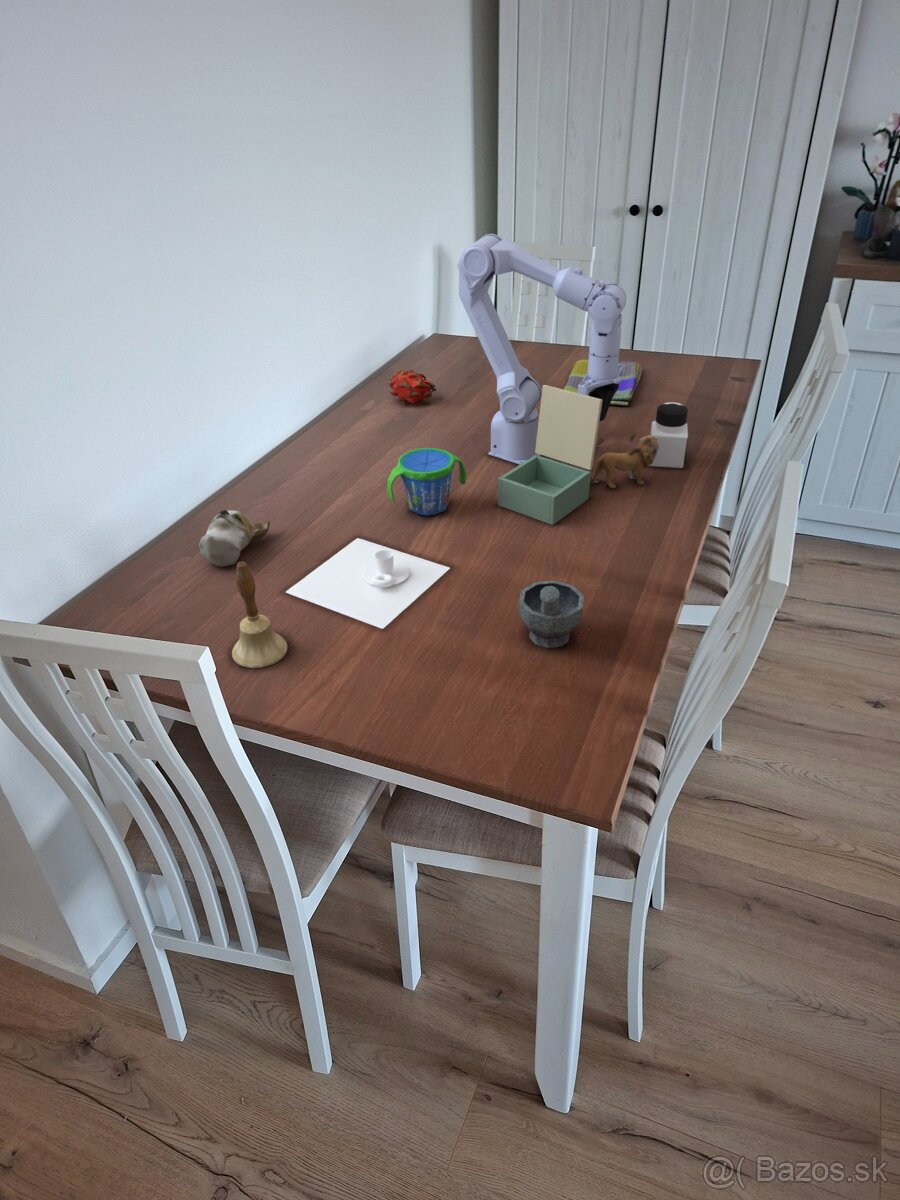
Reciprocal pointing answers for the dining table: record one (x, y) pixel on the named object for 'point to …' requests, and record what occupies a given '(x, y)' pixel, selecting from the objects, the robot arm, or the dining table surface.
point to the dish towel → (625, 386)
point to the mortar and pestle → (550, 611)
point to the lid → (568, 426)
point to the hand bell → (255, 629)
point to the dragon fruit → (410, 386)
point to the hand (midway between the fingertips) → (598, 419)
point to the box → (543, 489)
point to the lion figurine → (628, 461)
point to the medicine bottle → (670, 435)
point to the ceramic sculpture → (229, 537)
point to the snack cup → (426, 479)
